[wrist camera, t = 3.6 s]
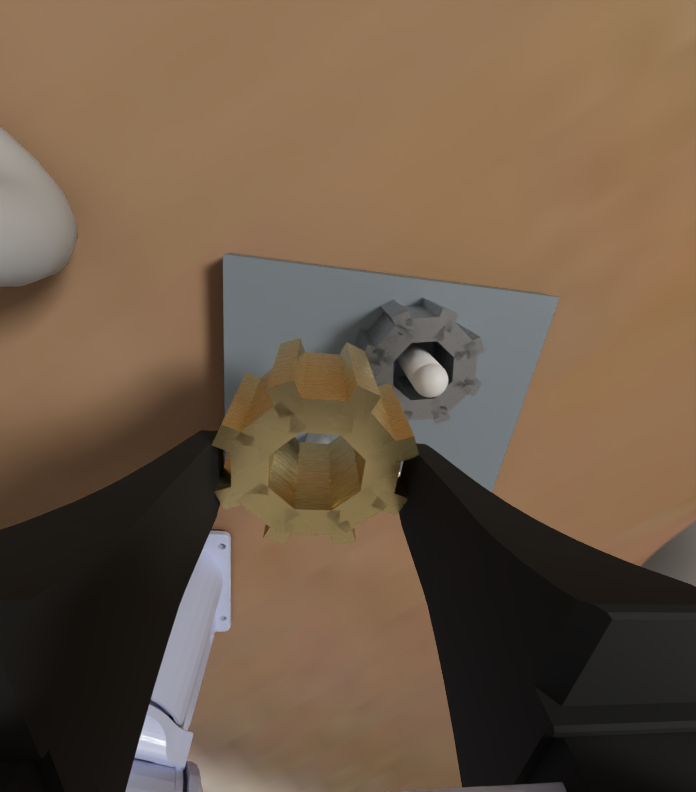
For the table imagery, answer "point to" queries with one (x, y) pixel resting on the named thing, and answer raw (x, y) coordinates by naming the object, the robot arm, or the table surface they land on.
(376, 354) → the fixed gear
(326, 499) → the brass gear
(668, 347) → the table surface
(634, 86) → the table surface
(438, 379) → the gear board
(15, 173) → the donut
